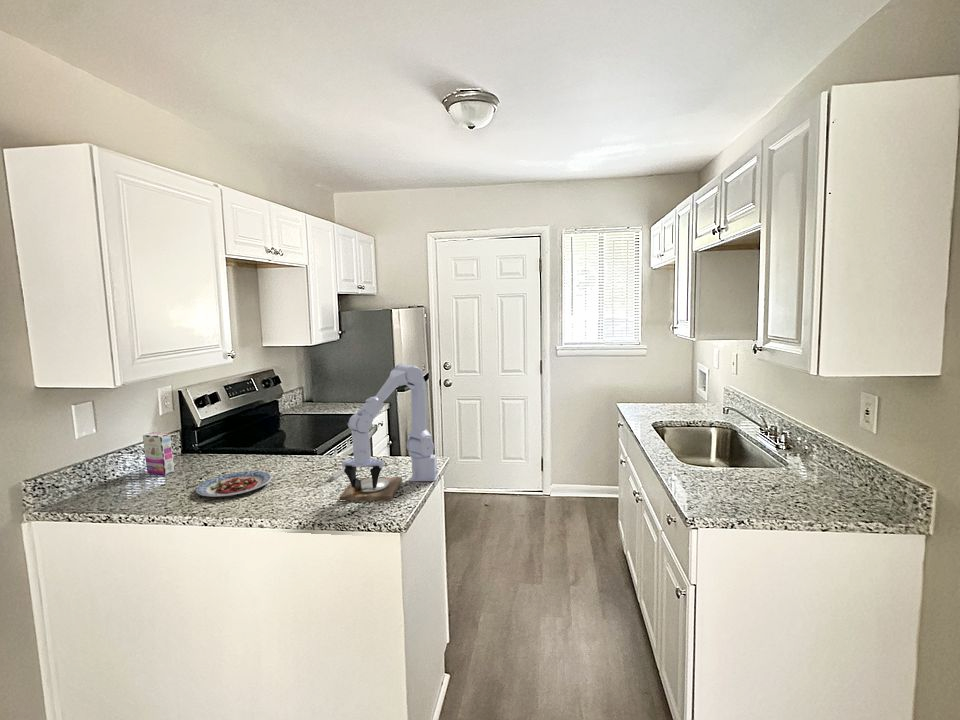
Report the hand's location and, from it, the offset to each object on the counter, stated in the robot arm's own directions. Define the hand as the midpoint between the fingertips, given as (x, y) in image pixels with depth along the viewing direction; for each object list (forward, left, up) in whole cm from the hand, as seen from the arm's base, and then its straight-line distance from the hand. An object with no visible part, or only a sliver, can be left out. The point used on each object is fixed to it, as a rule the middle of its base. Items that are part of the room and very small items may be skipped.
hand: (364, 486), depth 181 cm
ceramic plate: (+53, -12, -4) cm, 55 cm away
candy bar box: (+95, -31, -4) cm, 100 cm away
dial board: (-1, -6, -4) cm, 7 cm away
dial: (-1, -6, -2) cm, 6 cm away
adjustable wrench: (+16, -29, -4) cm, 34 cm away
